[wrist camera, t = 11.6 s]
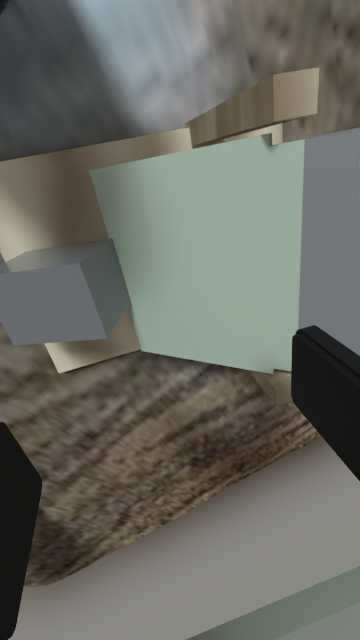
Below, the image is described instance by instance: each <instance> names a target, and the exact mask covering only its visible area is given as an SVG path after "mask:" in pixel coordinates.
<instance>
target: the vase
mask: <svg viewBox="0 0 360 640" xmlns="http://www.w3.org/2000/svg"><path fill="white" fill-rule="evenodd" d="M7 2H8V0H0V14H1V12H2V11H3V9H4V8H5V6H6V4H7Z"/></svg>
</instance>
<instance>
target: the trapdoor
mask: <svg viewBox="0 0 360 640" xmlns="http://www.w3.org/2000/svg"><path fill="white" fill-rule="evenodd" d="M90 174H91V178H92V181H93V185H94V188H95V192H96V195H97V199H98V202H99V206H100V209H101V213H102V216H103V219H104V223H105V226H106V230H107V233H108V237H109V238H112V239H113V243H114V246H115V249H116V253H117V256H118V259H119V263H120V266H121V269H122V273H123V276H124V279H125V283H126V286H127V289H128V293H129V296H130V299H131V303H130V305H129V310H130V313H131V316H132V320H133V323H134V327H135V330H136V334H137V337H138V341H139V344H140V348H141V351H144V352H150V353H156V354H161V355H167V356H173V357H178V358H184V359H190V360H195V361H201V362H207V363H212V364H218V365H224V366H229V367H235V368H241V369H246V370H252V371H258V372H263V373H269V374H273V372H274V369H279V370H285V371H291V364H292V337H293V336H294V335H295V334H296V331H297V330H299V329H302V328H305V327H309V326H312V325H316V326H318V327H319V328H320V329H322V330H323V331H325V332H326V333H328V334H329V335H331V336H332V337H333V338H335V339H336V340H338V341H339V342H341V343H342V344H343V345H345V346H346V347H348V348H349V349H351V350H352V351H353V352H355V353H356V354H358V355H359V356H360V128H355V129H350V130H344V131H339V132H334V133H329V134H323V135H318V136H314V137H311V138H308V139H303V140H298V141H292V142H287V143H282V144H276V145H272V133H268V134H263V135H258V136H253V137H248V138H244V139H239V140H234V141H229V142H224V143H220V144H215V145H210V146H205V147H200V148H196V149H191V150H186V151H181V152H176V153H172V154H167V155H162V156H157V157H152V158H148V159H143V160H138V161H133V162H128V163H124V164H119V165H114V166H109V167H104V168H100V169H95V170H90Z"/></svg>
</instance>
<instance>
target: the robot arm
mask: <svg viewBox="0 0 360 640" xmlns="http://www.w3.org/2000/svg"><path fill="white" fill-rule="evenodd" d="M291 397H292V400H293V402H294V404H295V405H296V406H297V408H298V409H299V410H300V411H301V412H302V414H303V415H304V416H305V417H306V418H307V419H308V421H309V422H310V423H311V424H312V425H313V427H314V428H315V429H316V430H317V431H318V432H319V434H320V435H321V436H322V437H323V438H324V439H325V441H326V442H327V443H328V444H329V445H330V447H331V448H332V449H333V450H334V451H335V452H336V454H337V455H338V456H339V457H340V458H341V460H342V461H343V462H344V463H345V464H346V465H347V467H348V468H349V469H350V470H351V471H352V473H353V474H354V475H355V476H356V477H357V478H358V480H359V481H360V356H359V355H358V354H356V353H355V352H353V351H352V350H351V349H349V348H348V347H346V346H345V345H343V344H342V343H341V342H339V341H338V340H336V339H335V338H333V337H332V336H331V335H329V334H328V333H326V332H325V331H323V330H322V329H320V328H319V327H318V326H316V325H312V326H309V327H305V328H302V329H299V330H297V331H296V334H295V335H294V336H293V337H292V364H291ZM41 491H42V480H41V477H40V475H39V474H38V472H37V471H36V469H35V468H34V466H33V465H32V463H31V462H30V460H29V459H28V457H27V456H26V454H25V453H24V451H23V450H22V448H21V447H20V445H19V444H18V442H17V441H16V439H15V438H14V436H13V435H12V433H11V432H10V430H9V429H8V427H7V426H6V424H5V423H3V422H0V640H8V639H9V638H11V636H12V635H13V633H14V631H15V627H16V623H17V618H18V613H19V607H20V602H21V596H22V591H23V586H24V581H25V576H26V570H27V565H28V560H29V554H30V549H31V544H32V538H33V533H34V528H35V523H36V517H37V512H38V507H39V501H40V496H41ZM187 640H360V566H359V567H357V568H354V569H352V570H350V571H347V572H345V573H342V574H340V575H338V576H336V577H333V578H331V579H329V580H326V581H323V582H321V583H319V584H316V585H314V586H311V587H309V588H307V589H305V590H302V591H300V592H297V593H295V594H292V595H290V596H288V597H285V598H283V599H281V600H278V601H276V602H274V603H271V604H269V605H266V606H264V607H262V608H260V609H257V610H255V611H252V612H250V613H248V614H245V615H243V616H241V617H238V618H236V619H234V620H231V621H229V622H226V623H224V624H222V625H220V626H217V627H215V628H212V629H210V630H208V631H205V632H203V633H201V634H198V635H196V636H194V637H191V638H189V639H187Z"/></svg>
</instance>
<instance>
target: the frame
mask: <svg viewBox="0 0 360 640" xmlns="http://www.w3.org/2000/svg"><path fill="white" fill-rule="evenodd" d="M318 82H319V68H313V69H306V70H300V71H294V72H287V73H281V74H275V75H272V76H270V77H268V78H266V79H265V80H263V81H261V82H259V83H257V84H256V85H254V86H252V87H250V88H248V89H247V90H245V91H243V92H241V93H239V94H238V95H236V96H234V97H232V98H230V99H229V100H227V101H225V102H223V103H221V104H220V105H218V106H216V107H214V108H212V109H211V110H209V111H207V112H205V113H203V114H202V115H200V116H198V117H196V118H194V119H193V120H191V121H189V122H187V123H185V125H186V128H184V129H178V130H173V131H167V132H162V133H156V134H151V135H145V136H139V137H134V138H128V139H123V140H117V141H112V142H106V143H101V144H95V145H90V146H84V147H78V148H73V149H67V150H62V151H56V152H51V153H45V154H40V155H34V156H28V157H23V158H17V159H12V160H6V161H1V162H0V252H1V254H2V256H3V258H4V261H5V262H7V261H9V260H11V259H13V258H14V257H16V256H18V255H20V254H22V253H24V252H26V251H33V250H39V249H45V248H52V247H58V246H65V245H71V244H77V243H84V242H90V241H96V240H103V239H109V237H108V233H107V230H106V226H105V223H104V219H103V216H102V213H101V209H100V206H99V202H98V199H97V195H96V192H95V188H94V185H93V181H92V178H91V174H90V170H95V169H100V168H104V167H109V166H114V165H119V164H124V163H128V162H133V161H138V160H143V159H148V158H152V157H157V156H162V155H167V154H172V153H176V152H181V151H186V150H191V149H196V148H200V147H205V146H210V145H215V144H220V143H224V142H229V141H234V140H239V139H244V138H248V137H253V136H258V135H263V134H268V133H272V145H276V144H282V123H284V122H288V121H292V120H295V119H299V118H302V117H306V116H310V115H313V114H317V102H318ZM44 344H45V346H46V348H47V350H48V352H49V354H50V356H51V358H52V360H53V362H54V364H55V366H56V368H57V371H58V373H62V372H66V371H69V370H72V369H76V368H79V367H82V366H86V365H89V364H93V363H96V362H99V361H103V360H106V359H109V358H113V357H116V356H119V355H123V354H126V353H130V352H133V351H136V350H140V349H141V348H140V344H139V341H138V337H137V334H136V330H135V327H134V323H133V320H132V316H131V313H130V310H129V306H128V308H127V309H126V311H125V313H124V314H123V316H122V317H121V319H120V320H119V322H118V323H117V325H116V326H115V328H114V329H113V331H112V333H111V334H110V336H109V337H108V339H96V340H82V341H68V342H53V343H44ZM248 371H249V372H250V374H251V375H252V376H253V377H254V379H255V380H256V381H257V382H258V384H259V385H260V386H261V387H262V389H263V390H264V391H265V392H266V394H267V395H268V396H269V397H270V399H271V400H272V401H273V402H274V404H275V405H276V406H279V405H282V404H285V403H288V402H291V401H293V400H292V397H291V371H285V370H279V369H274V372H273V374H269V373H263V372H258V371H252V370H248Z"/></svg>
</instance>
